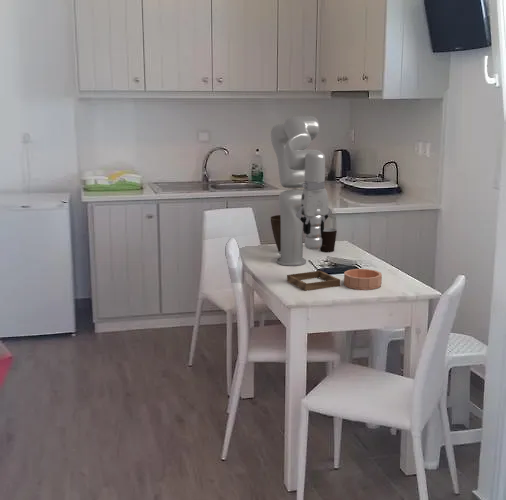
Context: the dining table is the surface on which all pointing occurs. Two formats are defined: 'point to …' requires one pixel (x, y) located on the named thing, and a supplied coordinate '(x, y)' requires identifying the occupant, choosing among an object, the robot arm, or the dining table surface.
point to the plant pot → (276, 230)
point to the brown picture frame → (329, 282)
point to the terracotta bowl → (362, 279)
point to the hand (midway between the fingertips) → (313, 232)
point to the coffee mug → (328, 239)
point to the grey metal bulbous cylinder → (314, 231)
